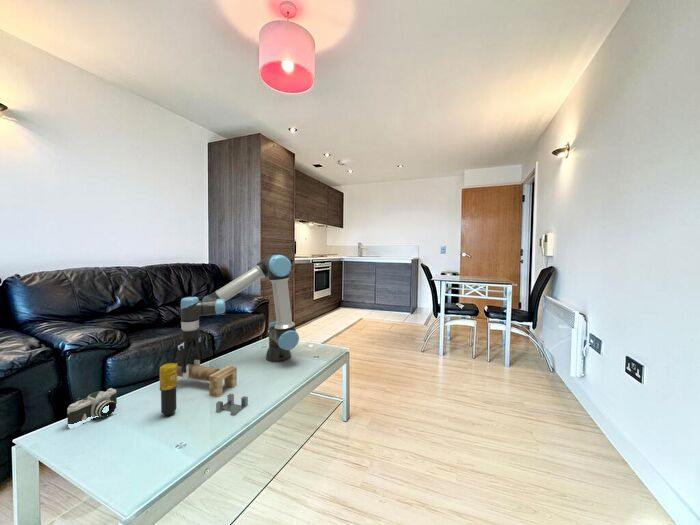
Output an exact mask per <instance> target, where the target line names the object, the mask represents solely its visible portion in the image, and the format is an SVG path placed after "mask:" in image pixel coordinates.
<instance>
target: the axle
mask: <svg viewBox="0 0 700 525" xmlns="http://www.w3.org/2000/svg"><path fill="white" fill-rule="evenodd" d="M175 364H176V365H177V362H176V363H175ZM187 365H188V369H189V379H193V380H200V381H205V382H209V376H210V375H212V374H214V373H216V372H217V371H219V370H220V368H219V367H218V368H217V367H210V366H204V365H200V366H198V365H194V364H189V363H187ZM177 377H181V378H183V373H182V367H181V366H177Z"/></svg>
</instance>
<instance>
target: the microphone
mask: <svg viewBox="0 0 700 525" xmlns="http://www.w3.org/2000/svg"><path fill="white" fill-rule="evenodd" d="M177 388H178V376H177V365H176V363H173V362H171V363H165V364H163V365H161V366H160V367H159V391H160V411H161V412H160V413H161V414H162V415H163V416H164V417H166V418H168V417H171V416H173V415H174V414H175V412H176V410H177V407H178V406H177Z"/></svg>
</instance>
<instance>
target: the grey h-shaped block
mask: <svg viewBox="0 0 700 525" xmlns="http://www.w3.org/2000/svg"><path fill="white" fill-rule="evenodd" d="M226 396H227V400H226V403H225V404H224V401H222V400H221V401H220V400H219V401H217V402H216V403H215V412H216V413H219V414H220V413H221V412H223V411H224V412H225V411H226V412H230V415H231V416H237V414H239V413H241V411H242V410H244V409H245V408H247V407H248V406H249V405H248V404H249V400H248V398H249V397H248V396H242V397H241V398H240V400H241V401H240V403H241V404H236V403H235V394H234V393H229V394H227V395H226Z"/></svg>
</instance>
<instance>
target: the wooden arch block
mask: <svg viewBox="0 0 700 525" xmlns="http://www.w3.org/2000/svg"><path fill="white" fill-rule="evenodd" d="M237 368H238V367H237V366H233V365H232V366H231V365H227V366H225V367H223V368H221V369H219V371H217V372H216V373H214V374H212V375H210V376H209V381H208V388H209V389H208V390H209V391H208V392H209V393H208V394H209V396H210V397H217V398H219V397H220V396H222V395H223V386H224V387H227V388H235V387H237V380H238V377H237V376H238V375H237V373H238V370H237ZM223 380H224V384H223Z"/></svg>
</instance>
